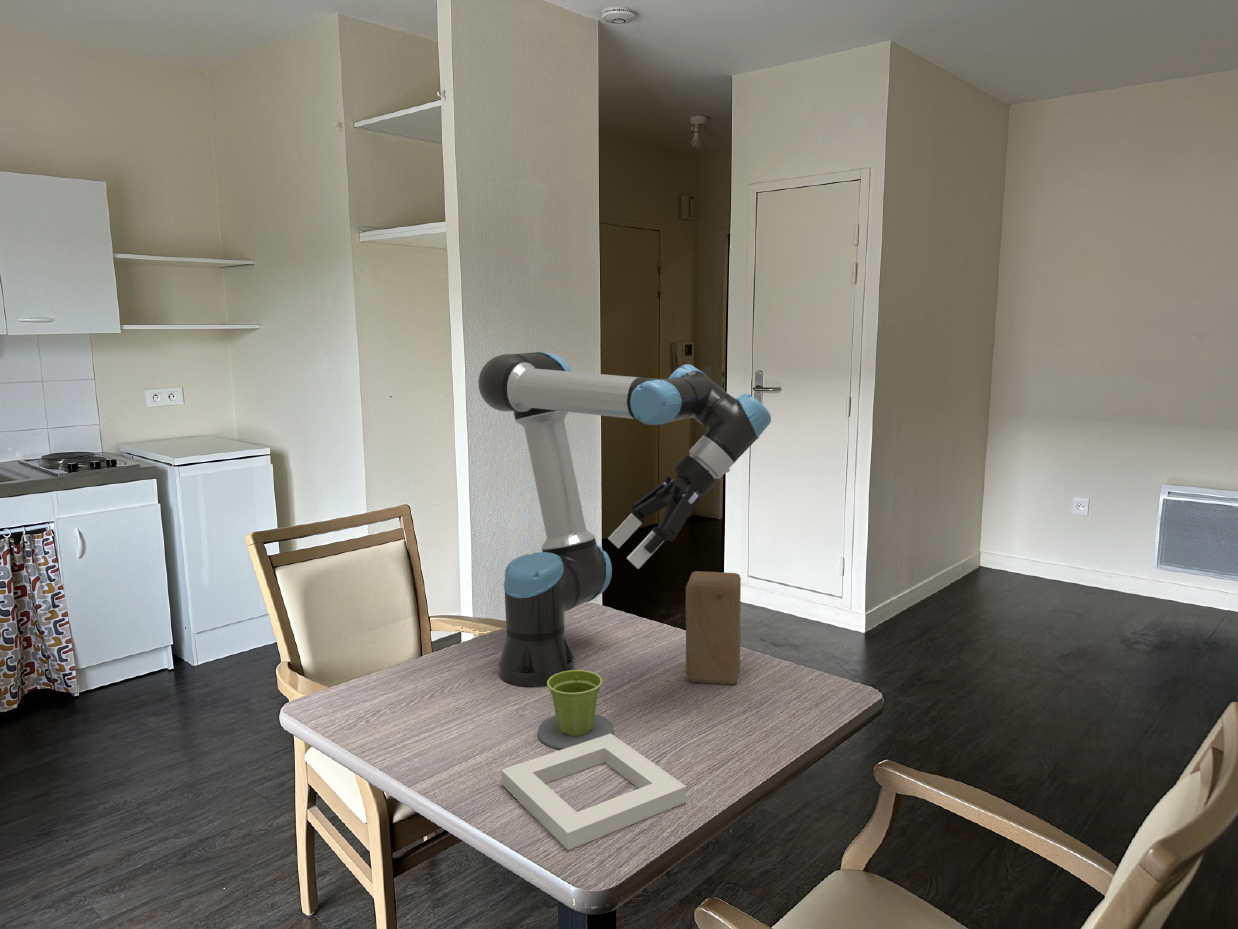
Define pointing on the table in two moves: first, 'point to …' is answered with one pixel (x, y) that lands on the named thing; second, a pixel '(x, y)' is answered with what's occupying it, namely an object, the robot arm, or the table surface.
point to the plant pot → (575, 700)
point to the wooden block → (713, 627)
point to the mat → (559, 740)
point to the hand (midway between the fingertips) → (622, 553)
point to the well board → (602, 818)
